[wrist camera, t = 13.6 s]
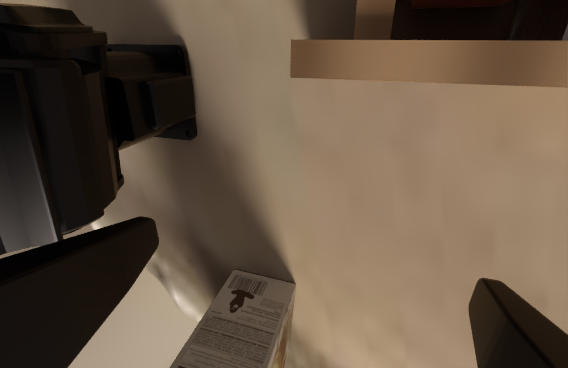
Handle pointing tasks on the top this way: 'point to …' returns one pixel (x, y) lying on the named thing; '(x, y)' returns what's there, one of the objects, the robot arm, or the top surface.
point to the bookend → (540, 21)
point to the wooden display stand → (427, 56)
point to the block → (456, 3)
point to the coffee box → (243, 326)
